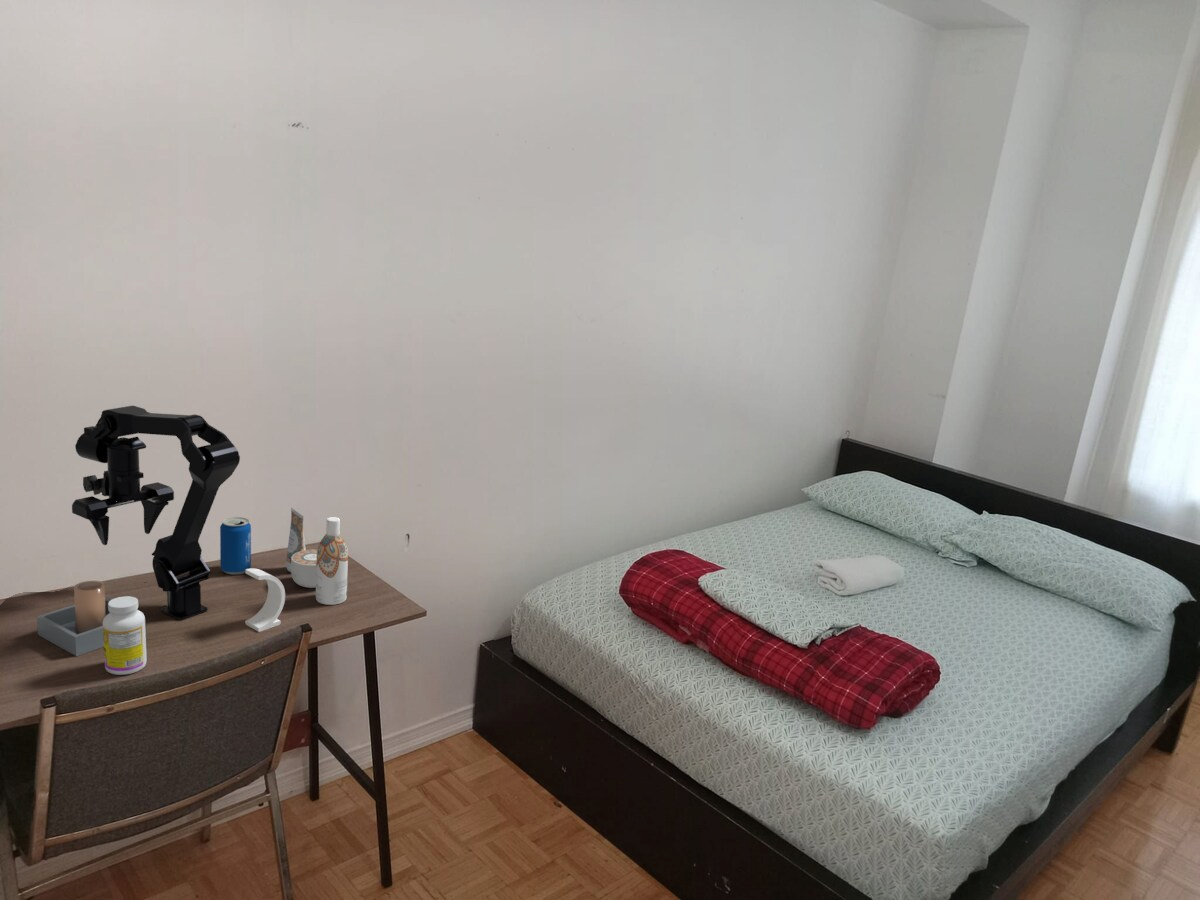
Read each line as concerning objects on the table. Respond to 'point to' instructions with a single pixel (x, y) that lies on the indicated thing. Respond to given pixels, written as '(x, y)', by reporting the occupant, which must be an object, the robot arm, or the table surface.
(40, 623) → the tray
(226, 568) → the beverage can
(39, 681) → the table surface
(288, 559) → the cosmetic set
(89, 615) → the cup
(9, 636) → the table surface
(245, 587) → the table surface
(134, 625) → the supplement bottle
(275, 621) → the headphone stand
